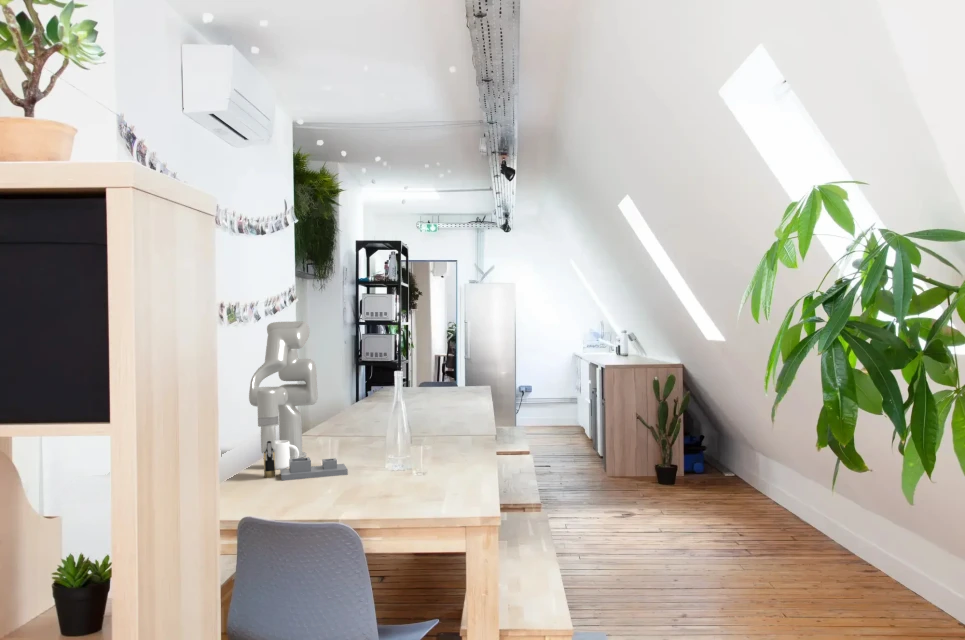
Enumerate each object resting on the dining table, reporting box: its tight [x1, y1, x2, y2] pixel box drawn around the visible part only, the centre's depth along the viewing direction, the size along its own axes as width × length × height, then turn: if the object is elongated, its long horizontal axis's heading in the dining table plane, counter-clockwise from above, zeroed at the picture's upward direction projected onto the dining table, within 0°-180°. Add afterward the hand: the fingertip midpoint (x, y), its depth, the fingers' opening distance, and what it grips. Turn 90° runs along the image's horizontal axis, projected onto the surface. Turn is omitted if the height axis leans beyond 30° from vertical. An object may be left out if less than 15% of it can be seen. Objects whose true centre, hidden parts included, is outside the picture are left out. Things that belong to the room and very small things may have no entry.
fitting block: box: [279, 456, 349, 481], centre depth 276 cm, size 12×24×6 cm, turn 108°
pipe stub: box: [263, 445, 276, 479], centre depth 274 cm, size 4×4×12 cm
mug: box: [275, 440, 299, 471], centre depth 292 cm, size 12×8×10 cm
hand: (269, 468), depth 274 cm, fingers open, 6 cm apart
